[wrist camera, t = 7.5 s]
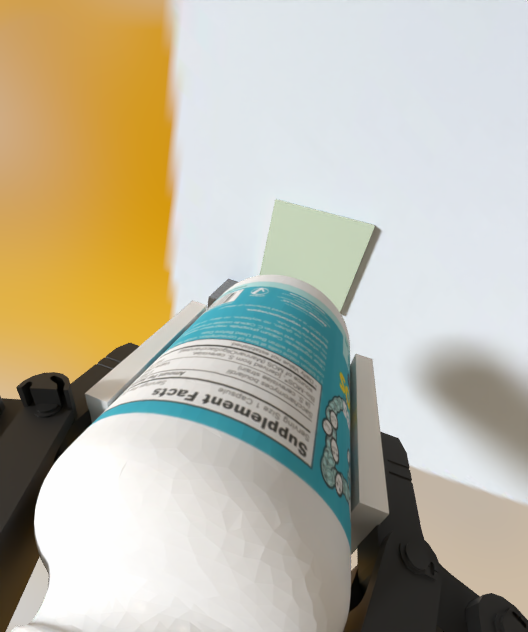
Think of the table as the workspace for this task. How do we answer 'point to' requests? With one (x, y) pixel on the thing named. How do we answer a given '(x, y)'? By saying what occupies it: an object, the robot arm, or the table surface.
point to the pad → (315, 248)
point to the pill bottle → (212, 481)
